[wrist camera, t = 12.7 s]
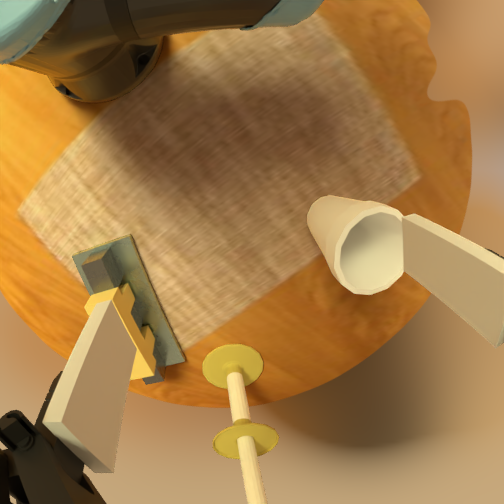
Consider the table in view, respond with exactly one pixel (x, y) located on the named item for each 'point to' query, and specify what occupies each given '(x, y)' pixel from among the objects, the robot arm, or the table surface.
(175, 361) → the rail
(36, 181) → the table surface
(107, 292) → the yellow arch-shaped block
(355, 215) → the foam cup
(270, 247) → the table surface
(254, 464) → the candle
